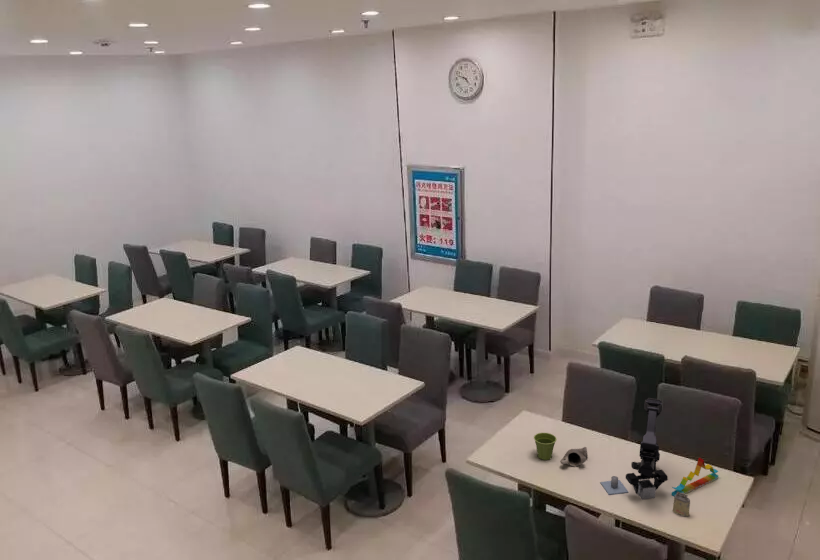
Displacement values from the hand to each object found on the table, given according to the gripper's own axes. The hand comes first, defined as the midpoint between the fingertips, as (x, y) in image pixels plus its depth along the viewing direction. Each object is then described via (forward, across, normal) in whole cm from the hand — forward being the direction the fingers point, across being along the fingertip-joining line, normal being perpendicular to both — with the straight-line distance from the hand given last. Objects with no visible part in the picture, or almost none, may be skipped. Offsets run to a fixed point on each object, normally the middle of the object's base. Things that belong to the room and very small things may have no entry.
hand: (645, 492), depth 311 cm
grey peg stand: (+1, +12, -8) cm, 14 cm away
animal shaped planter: (+2, +22, -33) cm, 40 cm away
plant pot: (+2, +36, -41) cm, 55 cm away
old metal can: (+2, -9, +16) cm, 18 cm away
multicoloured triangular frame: (+2, -27, -2) cm, 27 cm away
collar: (+1, 0, 0) cm, 1 cm away
